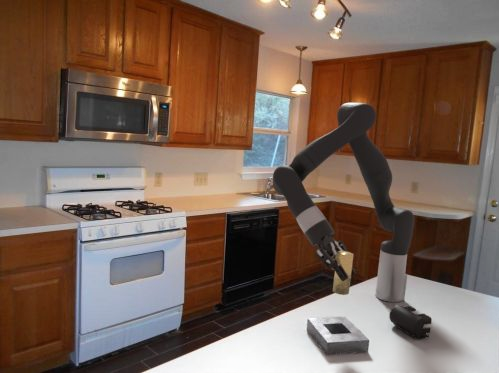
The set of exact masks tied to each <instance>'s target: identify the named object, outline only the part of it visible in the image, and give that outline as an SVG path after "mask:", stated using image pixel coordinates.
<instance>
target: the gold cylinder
mask: <svg viewBox="0 0 499 373" xmlns="http://www.w3.org/2000/svg"><path fill="white" fill-rule="evenodd" d="M337 255H338V260H339V262H340V266H342V267H343V269H344V270H345V272H346V273H347V275H348V276H349V278H348V279H346V280H345V281H341V279H340V278H339V276H338V275H337V273H336V272H335V271H334V276H333V284H332V285H333V286H332V292H333V293H335V294H336V295H342V296H346V295H349V293H350V289H351V288H350V286H351V280H352V277H351V272H352V267H353V260H354V255H355V254H354V253H352V252H350V251H348V252H346V251H338V252H337Z"/></svg>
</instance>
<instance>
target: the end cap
mask: <svg viewBox="0 0 499 373" xmlns="http://www.w3.org/2000/svg"><path fill="white" fill-rule="evenodd" d="M416 311H417V309H416V308H415V307H413V306H410V305H408V306H402V305H400V304H395V305H394V306H393V307H392V308H391V309H390V312H389V315H388V316H389V317H388V318H389V321H391V323H392V324H393V325H394V326H396V327H397V328H399V329H400V330H402V331H404V332H406V333H407V334H409V335H410V336H412V338H415V339H416V340H422V339H429V334H430V333H431V327H425V326H426V325H431V324H432V317H431V316H429V315H427V314H426V313H415V312H416Z"/></svg>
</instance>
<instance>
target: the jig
mask: <svg viewBox="0 0 499 373" xmlns="http://www.w3.org/2000/svg"><path fill="white" fill-rule="evenodd" d="M306 321H307V323H306V331H307V332H308V333H309V335H310V336H311V337H312V338H313V340H314V341H315V342H316V344H317V345H318V346H319V347H320V349H321V350H322V351H323V353H324V354H325V355H326V356H332V355H333V356H334V355H347V354H348V355H350V354H363V353H369V347H370V346H369V345H370V339H369V338H368V337H367V336H366V335H365V334H364V333H363V332H362V331H361V330H360V329H359V328H358V327H356V325H354V323H353V322H352V321H350V319H349V318H347V317H346V316H329V317H328V316H327V317H326V316H324V317H307V320H306Z"/></svg>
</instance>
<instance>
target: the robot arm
mask: <svg viewBox="0 0 499 373" xmlns="http://www.w3.org/2000/svg"><path fill="white" fill-rule="evenodd" d="M336 116H337V117H336V120H337V124H338V126H337V127H336V128H335V129H333V130H332V131H330V132H328V133H326V134H324V135H323V136H321V137H318V138H316V139H315V140H313V141H311V142H310V143H309V144H307V145H306V146H305V147H303V149H302V150H300V151H299V152H298V153H297V154H296V155H295V156H294V158H293V160H292V162H291V163H290V164H289V165H286V164H285V165H283V164H282V165H280V166H278V167H276V168H275V170H274V171H273V174H272V187H273V189H274V192H276V193H277V194H278V195H283V197H284V198H285V200H286V204H287V207H288V209H289V211H290V212H291V214H292V215H293V217H294V219H296V221H297V224H298V226H299V227H300V229H301V230H302V232H303V234H304V235H305V236H306V239H307V240H308V241H309V243H310V244H311V246H314V247H316V246H317V248H318V249H317V250H316V251H315V252H314V254H315V255H316V257H317V258H318V260H320V261H321V262H322V263H323V265H324V266H325V268H326V269H328V270H333V271H334V273H335V272H336V273H337V275H338V276H339V278H340V279H341V281H345V280H346V279H348V278H349V276H348V275H347V273H346V272H345V270H344V269H343V267H342V266H340V262H339V260H338V255H337V252H338V251H346V252H349V251H348V250H347V247H346V246H345V244H344V242H343V240H339V241H337V240H336V239H335V238H334V237H333V235H334V234H335V230H334V228H333V227H332V226H331V224H330V223H329V221H328V220H327V218H326V217H325V215H324V213H322V211H321V210H320V209H319V208H318V206H317V205H316V203H315V202H314V201H313V199H312V197H311V196H310V195H309V194H308V192H307V191H306V188H305V186H304V184H303V182H304V180H305V179H306V178H307V177H308V176H309V175H310V174H311V173H312V172H314V171H315V170H316V169H317V168H318V167H319V166H320V165H322V163H324V162H325V161H326V160H327V159H329V158H330V157H331V156H332V155H333V154H335V153H336V152H338V151H339V150H340V149H342V148H343V147H345V146H346V145H349V147H350V148H351V151H352V153H353V156H354V158H355V161H356V163H357V165H358V168H359V171H360V173H361V176H362V179H363V181H364V182H365V186H366V187H367V190H368V192H369V196H370V197H371V199H372V203H373V205H374V210H375V214H376V217H377V221H378V223H379V225H380V228H382V229H383V230H384V231H386V232H390V233H392V234H393V235H392V237H391V240H384V241H382V242H381V244H380V251H379V252H380V253H379V261H378V270H377V278H376V287H375V297H376V298H377V299H379V300H382V301H385V302H390V303H400V302H401V301H405V300H406V299H405V297H406V289H407V282H408V281H407V280H408V274H407V273H406V269H407V268H406V267H407V259H408V253H409V248H410V247H411V244H412V238H413V234H414V228H415V216H414V215H415V214H414V213H413V212H412V211H411V210H409V209H406V208H402V207H397V206H395V205H394V204H393V201H392V199H391V196H390V190H391V186H392V184H393V174H392V170H391V168H390V164H389V162H388V160H387V158H386V156H385V155H384V154H383V152H381V150H380V149H379V148H378V147H377V145H376V144H374V142H373V141H372V140H371V139H370V137H369V135H368V134H367V132H368V131H369V130H371V129H372V128H373V127H374V125H375V124H376V120H377V112H376V109H375V108H374V107H373V106H372V105H371V104H369V103H365V102H345V103H343V104H342V105H340V107H339V108H338V111H337V114H336ZM355 275H357V272H356V270H355V269H354V267H353V266H352V272H351V278H352V277H353V276H355Z"/></svg>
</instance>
